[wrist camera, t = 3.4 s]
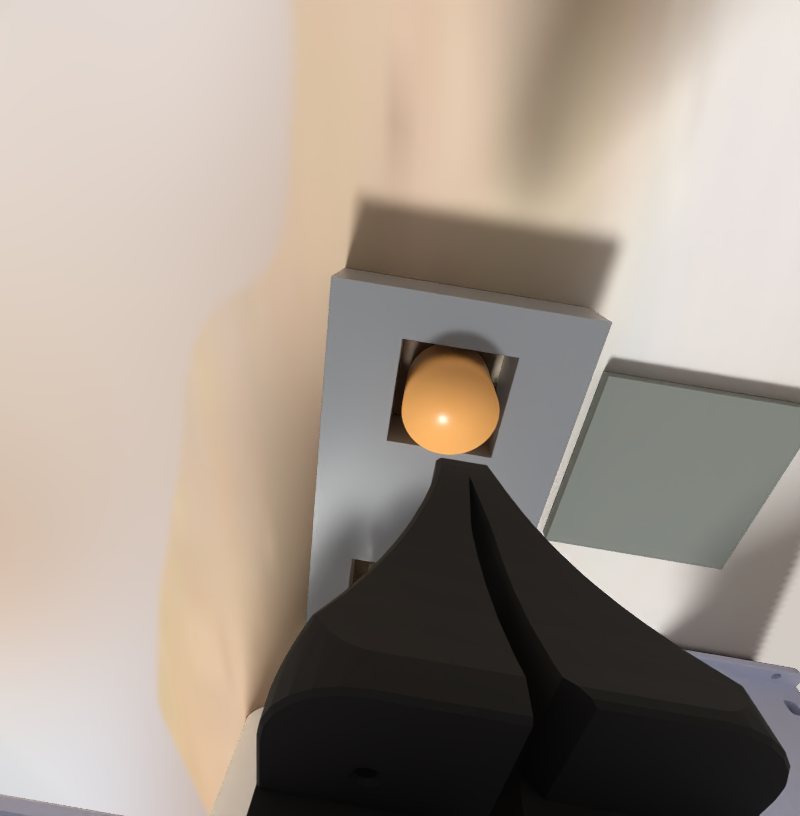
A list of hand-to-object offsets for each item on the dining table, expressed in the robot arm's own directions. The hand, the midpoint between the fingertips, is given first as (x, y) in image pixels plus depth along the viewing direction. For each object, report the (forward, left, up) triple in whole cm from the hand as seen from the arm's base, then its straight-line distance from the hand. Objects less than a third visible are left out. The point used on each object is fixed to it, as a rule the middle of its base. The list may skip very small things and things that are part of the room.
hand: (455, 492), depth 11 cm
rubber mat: (-11, +3, -8) cm, 14 cm away
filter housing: (0, +7, -8) cm, 11 cm away
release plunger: (0, 0, -8) cm, 8 cm away
